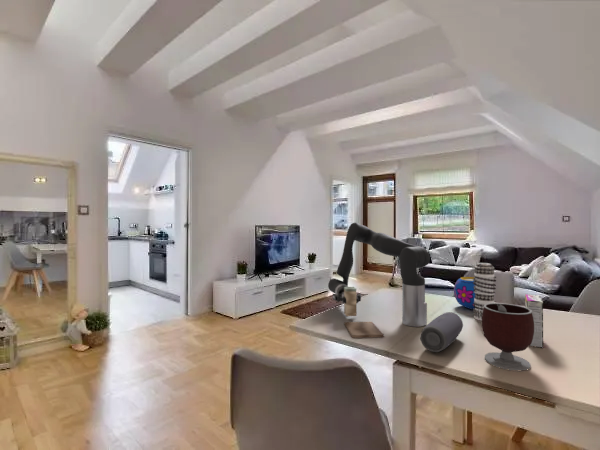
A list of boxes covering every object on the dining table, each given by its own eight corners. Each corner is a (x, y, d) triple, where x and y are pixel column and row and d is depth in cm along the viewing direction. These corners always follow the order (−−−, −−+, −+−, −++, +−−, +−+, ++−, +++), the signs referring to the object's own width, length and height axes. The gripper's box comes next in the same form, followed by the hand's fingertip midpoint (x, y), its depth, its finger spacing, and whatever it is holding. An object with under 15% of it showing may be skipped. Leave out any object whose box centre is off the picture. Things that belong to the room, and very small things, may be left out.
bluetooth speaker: (438, 333, 129) (438, 308, 129) (464, 339, 123) (464, 312, 123) (418, 352, 111) (418, 322, 111) (447, 359, 105) (447, 328, 105)
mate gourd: (489, 349, 113) (490, 292, 113) (538, 362, 103) (539, 299, 102) (473, 363, 102) (473, 299, 102) (526, 379, 92) (526, 308, 92)
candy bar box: (524, 336, 126) (524, 293, 126) (540, 338, 123) (540, 295, 123) (526, 345, 116) (526, 299, 116) (543, 348, 114) (544, 301, 113)
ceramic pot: (492, 315, 154) (492, 283, 154) (451, 309, 163) (451, 279, 163) (493, 306, 169) (493, 277, 168) (455, 302, 178) (455, 274, 178)
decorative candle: (499, 322, 143) (499, 265, 143) (476, 320, 145) (476, 264, 145) (491, 316, 152) (491, 262, 152) (470, 315, 154) (470, 262, 154)
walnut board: (371, 323, 142) (371, 321, 141) (383, 337, 126) (383, 334, 126) (344, 324, 141) (344, 322, 141) (352, 337, 125) (352, 335, 125)
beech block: (353, 312, 150) (353, 286, 150) (356, 315, 145) (356, 289, 145) (344, 313, 150) (344, 286, 150) (346, 316, 145) (346, 289, 145)
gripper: (329, 285, 162) (335, 293, 145) (358, 285, 163) (367, 292, 146) (329, 300, 162) (335, 310, 145) (358, 300, 163) (367, 309, 146)
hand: (351, 301), depth 146 cm, fingers closed on beech block, 4 cm apart
